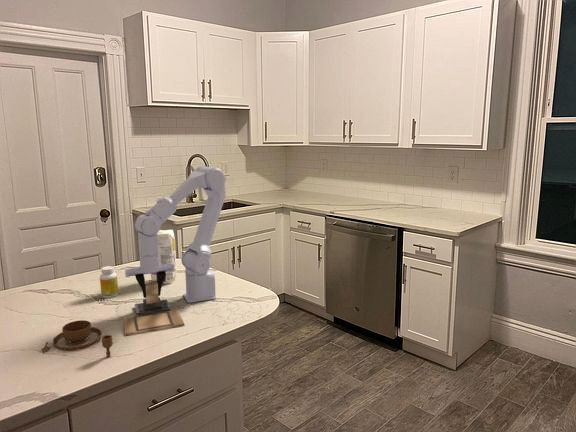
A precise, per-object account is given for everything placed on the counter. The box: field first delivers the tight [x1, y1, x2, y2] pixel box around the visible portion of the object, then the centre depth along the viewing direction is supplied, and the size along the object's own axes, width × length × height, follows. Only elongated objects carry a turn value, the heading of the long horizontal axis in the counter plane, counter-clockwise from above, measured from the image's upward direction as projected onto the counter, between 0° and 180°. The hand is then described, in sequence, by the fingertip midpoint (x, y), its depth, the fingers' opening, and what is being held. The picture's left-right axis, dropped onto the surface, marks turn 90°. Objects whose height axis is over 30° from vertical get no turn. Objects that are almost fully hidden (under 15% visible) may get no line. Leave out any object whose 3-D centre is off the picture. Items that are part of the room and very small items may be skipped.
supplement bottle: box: [99, 265, 119, 299], centre depth 151 cm, size 5×5×10 cm
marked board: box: [122, 309, 185, 337], centre depth 131 cm, size 16×11×1 cm
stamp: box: [142, 280, 162, 309], centre depth 139 cm, size 5×5×8 cm
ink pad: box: [134, 299, 172, 316], centre depth 140 cm, size 10×8×1 cm
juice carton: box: [150, 229, 177, 285], centre depth 164 cm, size 8×9×19 cm
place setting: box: [41, 319, 116, 359], centre depth 116 cm, size 18×20×6 cm
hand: (151, 295), depth 140 cm, fingers closed on stamp, 4 cm apart
